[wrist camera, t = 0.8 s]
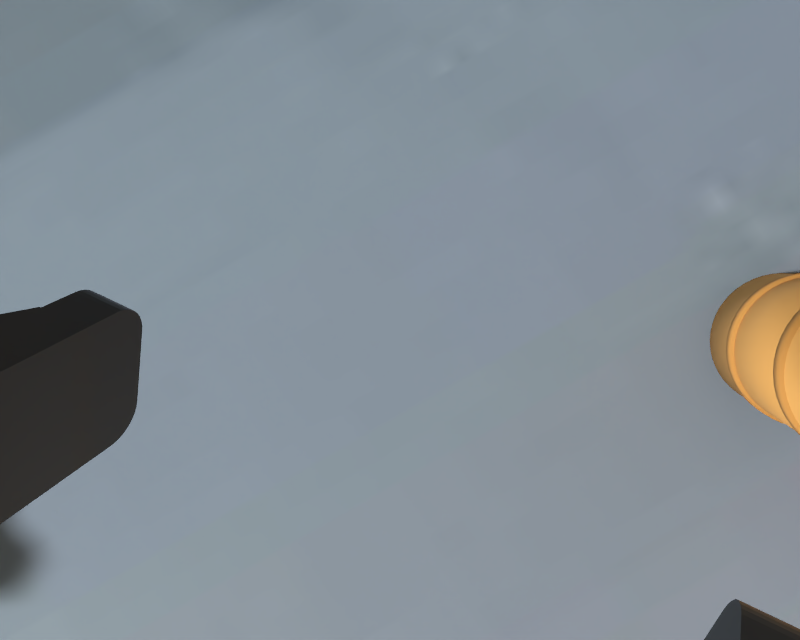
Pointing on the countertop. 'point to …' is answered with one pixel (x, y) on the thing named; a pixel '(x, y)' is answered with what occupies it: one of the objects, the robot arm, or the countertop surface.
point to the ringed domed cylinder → (762, 345)
